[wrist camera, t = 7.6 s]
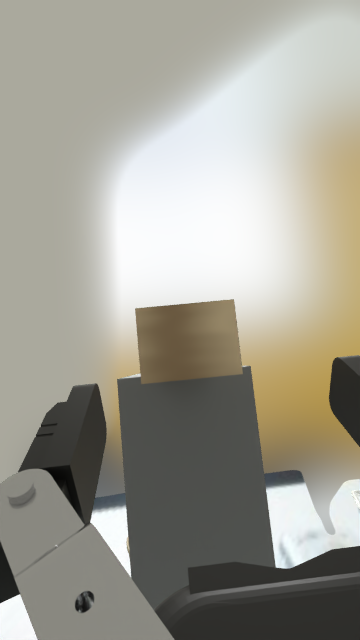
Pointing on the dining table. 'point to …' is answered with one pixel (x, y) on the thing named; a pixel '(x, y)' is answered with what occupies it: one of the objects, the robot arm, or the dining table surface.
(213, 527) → the stand
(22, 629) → the dining table surface
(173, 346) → the block
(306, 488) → the dining table surface
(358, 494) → the square plate
